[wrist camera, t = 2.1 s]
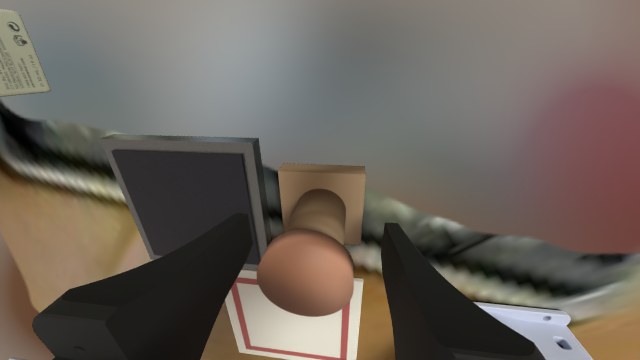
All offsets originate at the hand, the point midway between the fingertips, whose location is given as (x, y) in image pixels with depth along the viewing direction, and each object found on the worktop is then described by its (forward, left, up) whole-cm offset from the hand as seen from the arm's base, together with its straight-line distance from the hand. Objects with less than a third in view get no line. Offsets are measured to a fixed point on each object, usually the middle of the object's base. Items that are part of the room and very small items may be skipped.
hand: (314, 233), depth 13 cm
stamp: (0, 0, -4) cm, 4 cm away
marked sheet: (+3, +13, -4) cm, 14 cm away
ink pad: (+9, +1, -4) cm, 10 cm away
